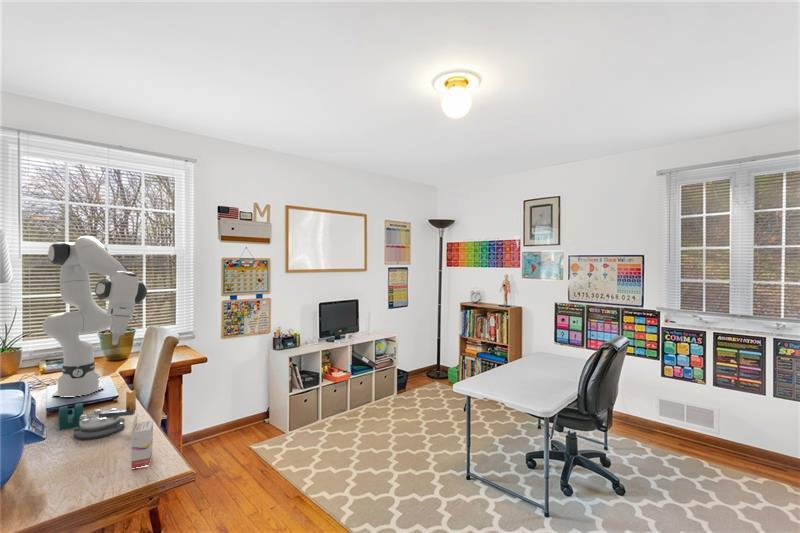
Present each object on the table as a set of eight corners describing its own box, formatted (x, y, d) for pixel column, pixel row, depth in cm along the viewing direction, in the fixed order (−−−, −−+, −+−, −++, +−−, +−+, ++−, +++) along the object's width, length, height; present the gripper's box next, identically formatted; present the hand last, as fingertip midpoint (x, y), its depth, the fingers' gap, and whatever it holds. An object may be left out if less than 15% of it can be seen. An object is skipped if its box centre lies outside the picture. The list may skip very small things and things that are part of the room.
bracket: (83, 425, 148) (83, 405, 148) (59, 431, 143) (59, 410, 143) (79, 411, 161) (79, 393, 161) (58, 416, 157) (58, 397, 156)
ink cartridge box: (150, 467, 120) (150, 420, 120) (130, 470, 117) (131, 423, 117) (153, 454, 127) (153, 410, 127) (135, 457, 125) (135, 412, 125)
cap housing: (75, 428, 145) (75, 422, 145) (124, 419, 154) (124, 413, 154) (71, 444, 133) (71, 437, 133) (124, 433, 142) (124, 427, 142)
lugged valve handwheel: (72, 433, 136) (72, 400, 136) (89, 419, 148) (89, 389, 148) (129, 428, 141) (129, 396, 141) (141, 415, 153) (141, 386, 152)
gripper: (109, 309, 164) (103, 341, 162) (113, 310, 148) (106, 347, 146) (127, 310, 168) (121, 342, 166) (133, 312, 152) (126, 347, 150)
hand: (114, 344), depth 156 cm, fingers closed
